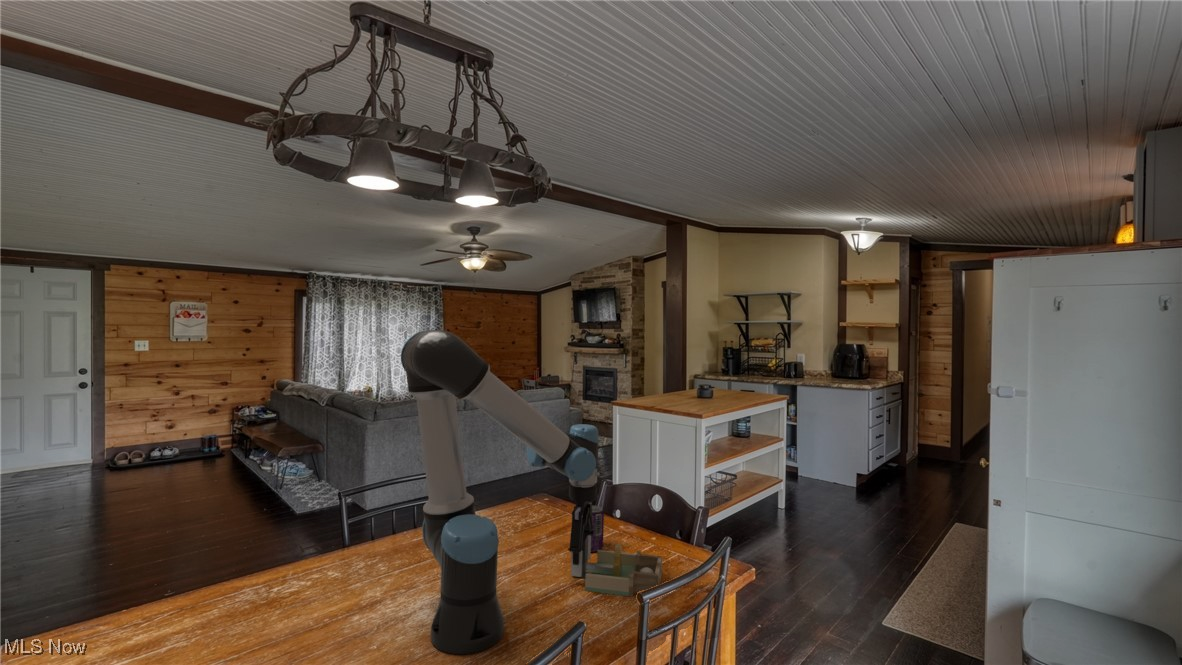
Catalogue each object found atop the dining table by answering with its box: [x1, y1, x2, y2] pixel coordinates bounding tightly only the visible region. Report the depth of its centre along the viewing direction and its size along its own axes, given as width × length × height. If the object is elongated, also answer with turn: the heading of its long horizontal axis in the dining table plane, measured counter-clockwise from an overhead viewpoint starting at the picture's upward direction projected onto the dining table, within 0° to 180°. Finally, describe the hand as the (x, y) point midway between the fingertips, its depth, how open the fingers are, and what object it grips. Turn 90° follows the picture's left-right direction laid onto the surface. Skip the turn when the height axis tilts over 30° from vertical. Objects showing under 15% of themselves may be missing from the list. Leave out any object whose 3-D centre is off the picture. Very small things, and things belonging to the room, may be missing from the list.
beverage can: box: [590, 504, 605, 553], centre depth 160 cm, size 7×7×12 cm
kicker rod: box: [574, 534, 623, 579], centre depth 141 cm, size 6×13×10 cm, turn 78°
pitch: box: [584, 549, 636, 597], centre depth 140 cm, size 16×11×4 cm
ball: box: [640, 567, 654, 574], centre depth 138 cm, size 4×4×4 cm
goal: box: [628, 550, 663, 598], centre depth 138 cm, size 16×7×5 cm, turn 168°
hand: (580, 567), depth 142 cm, fingers open, 10 cm apart
